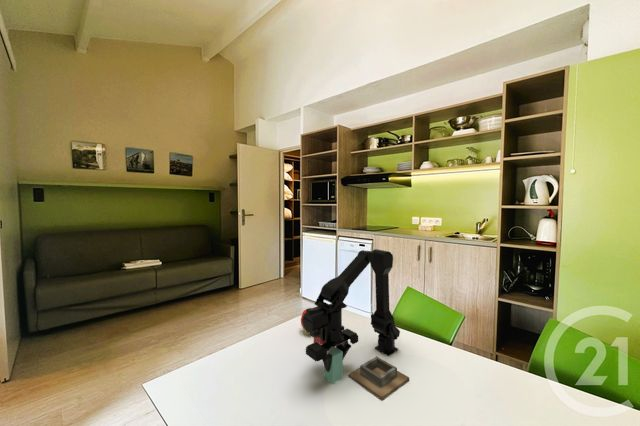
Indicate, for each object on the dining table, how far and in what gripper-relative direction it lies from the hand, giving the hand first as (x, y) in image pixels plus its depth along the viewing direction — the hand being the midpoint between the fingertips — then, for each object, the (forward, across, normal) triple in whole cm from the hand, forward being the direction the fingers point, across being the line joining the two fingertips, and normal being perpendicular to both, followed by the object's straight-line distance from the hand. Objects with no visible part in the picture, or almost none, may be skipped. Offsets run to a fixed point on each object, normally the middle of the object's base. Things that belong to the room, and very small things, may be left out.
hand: (333, 368), depth 92 cm
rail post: (+3, 0, 0) cm, 3 cm away
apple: (+3, -13, -29) cm, 32 cm away
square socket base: (+3, -11, +10) cm, 15 cm away
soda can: (+3, -7, -14) cm, 16 cm away
